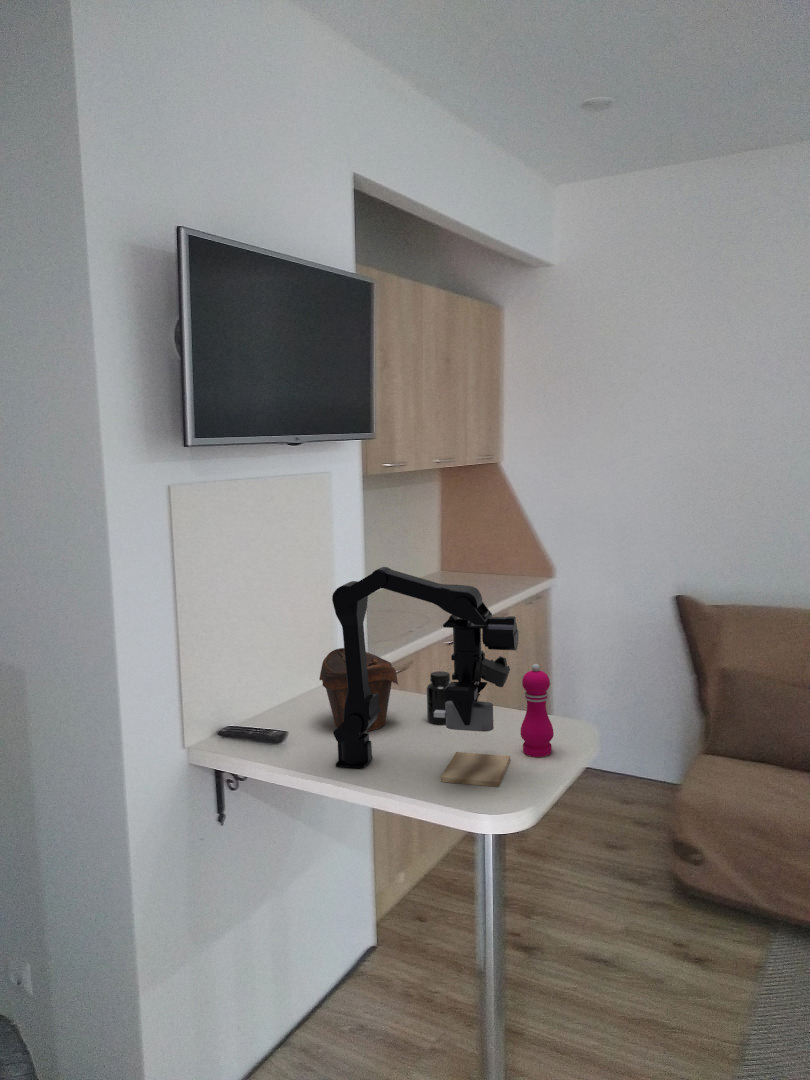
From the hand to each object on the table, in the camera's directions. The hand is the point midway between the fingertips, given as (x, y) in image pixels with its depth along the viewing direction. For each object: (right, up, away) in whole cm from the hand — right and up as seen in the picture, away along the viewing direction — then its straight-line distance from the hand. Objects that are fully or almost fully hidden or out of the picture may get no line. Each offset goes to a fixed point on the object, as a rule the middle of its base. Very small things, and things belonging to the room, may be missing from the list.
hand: (469, 721), depth 170 cm
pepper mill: (+16, -9, +11) cm, 22 cm away
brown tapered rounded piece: (-24, -8, +34) cm, 42 cm away
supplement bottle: (-4, -7, +34) cm, 35 cm away
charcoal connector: (-1, -1, +1) cm, 2 cm away
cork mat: (+2, -11, +2) cm, 11 cm away
